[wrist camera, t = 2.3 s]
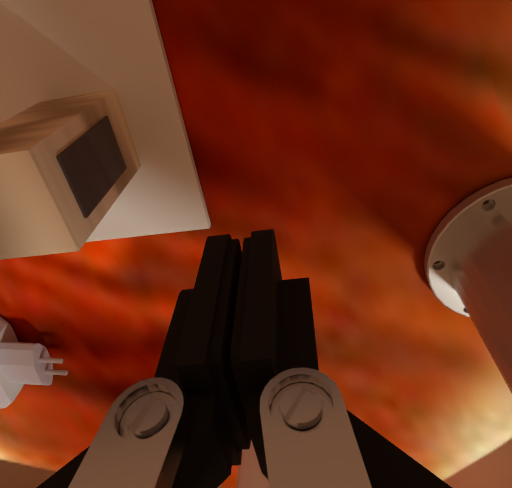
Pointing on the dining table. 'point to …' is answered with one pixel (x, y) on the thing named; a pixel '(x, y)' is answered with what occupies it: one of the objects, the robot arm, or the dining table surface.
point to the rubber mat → (103, 79)
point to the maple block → (61, 172)
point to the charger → (22, 364)
